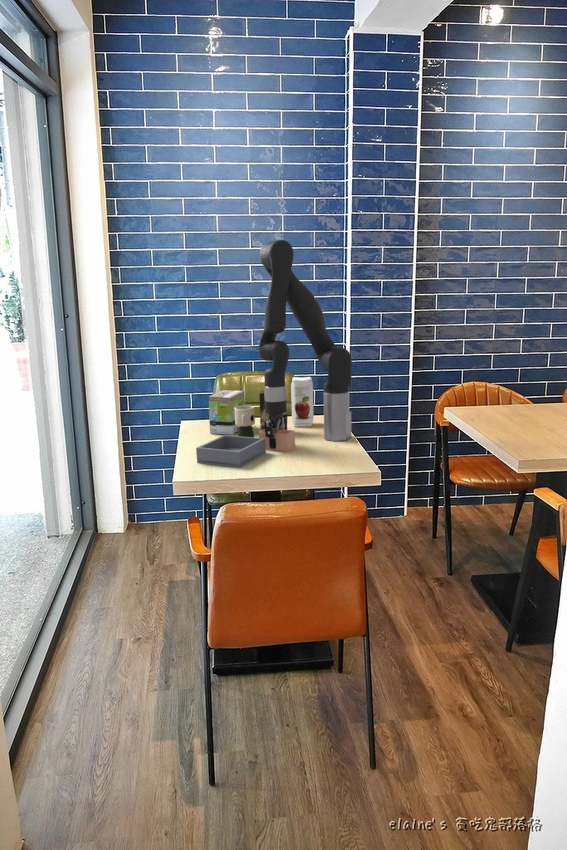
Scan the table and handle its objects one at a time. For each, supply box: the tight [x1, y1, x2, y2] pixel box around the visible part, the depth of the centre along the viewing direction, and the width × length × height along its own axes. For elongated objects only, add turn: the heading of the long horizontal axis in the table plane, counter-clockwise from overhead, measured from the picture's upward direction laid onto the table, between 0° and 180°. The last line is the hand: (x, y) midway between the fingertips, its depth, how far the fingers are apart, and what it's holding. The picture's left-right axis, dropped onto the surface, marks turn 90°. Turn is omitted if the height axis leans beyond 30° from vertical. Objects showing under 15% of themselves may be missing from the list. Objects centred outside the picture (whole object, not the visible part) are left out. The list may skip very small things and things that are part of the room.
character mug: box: [235, 405, 256, 438], centre depth 235 cm, size 11×7×13 cm, turn 179°
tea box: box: [208, 389, 246, 435], centre depth 254 cm, size 15×10×15 cm, turn 165°
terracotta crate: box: [258, 429, 296, 452], centre depth 227 cm, size 11×6×6 cm, turn 65°
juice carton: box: [290, 376, 314, 428], centre depth 257 cm, size 8×9×19 cm
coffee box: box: [259, 389, 275, 431], centre depth 247 cm, size 9×6×16 cm
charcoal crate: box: [195, 434, 267, 468], centre depth 217 cm, size 16×18×5 cm
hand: (277, 445), depth 227 cm, fingers closed on terracotta crate, 6 cm apart
